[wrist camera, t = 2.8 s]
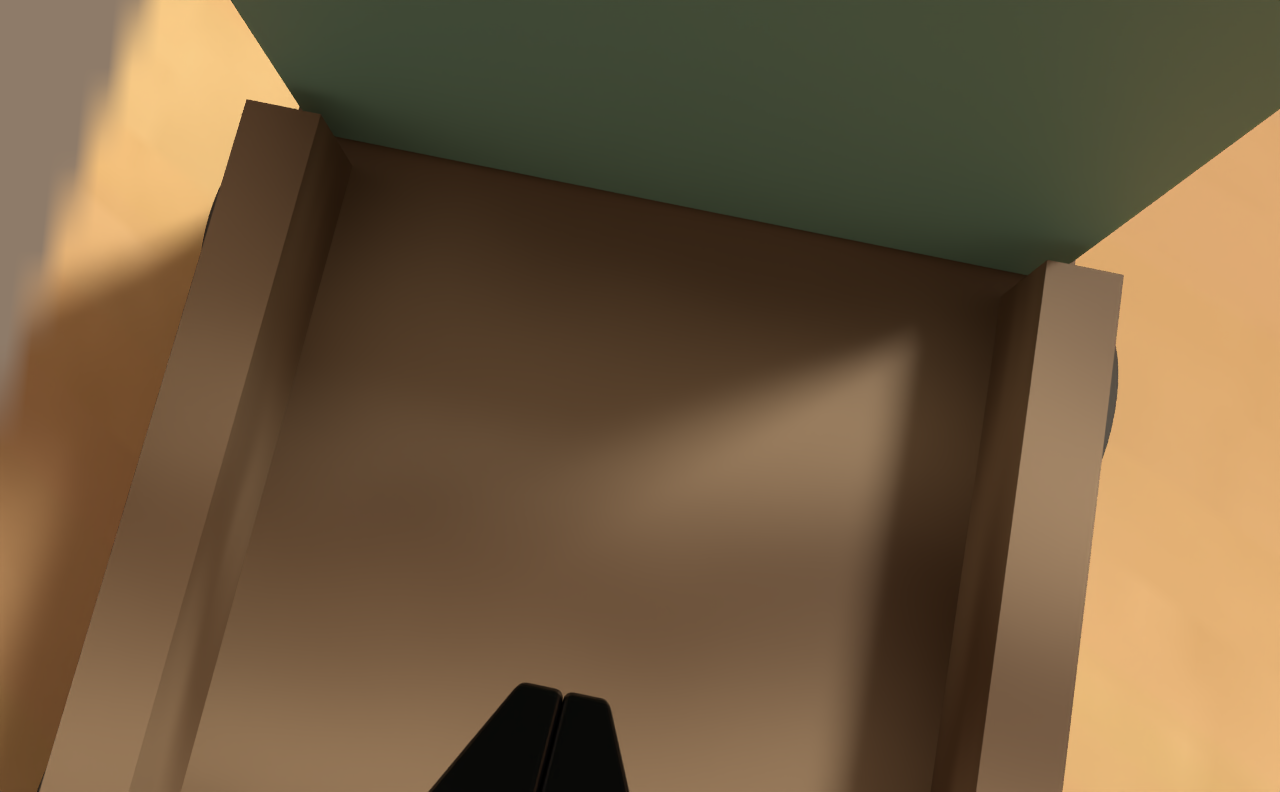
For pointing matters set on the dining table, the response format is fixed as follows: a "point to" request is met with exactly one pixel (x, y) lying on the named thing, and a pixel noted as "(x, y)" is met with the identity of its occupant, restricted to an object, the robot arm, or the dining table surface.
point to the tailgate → (807, 104)
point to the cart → (592, 493)
